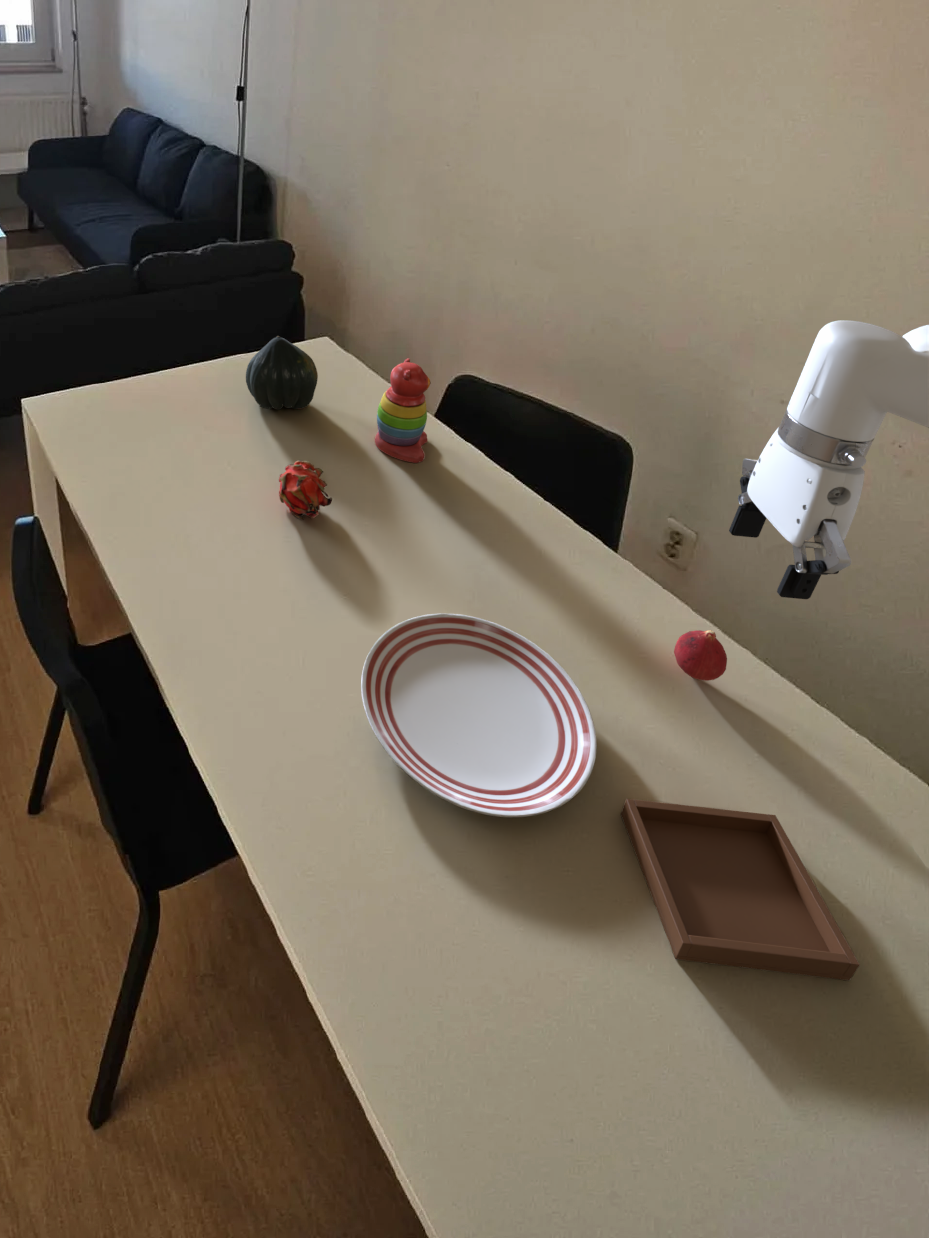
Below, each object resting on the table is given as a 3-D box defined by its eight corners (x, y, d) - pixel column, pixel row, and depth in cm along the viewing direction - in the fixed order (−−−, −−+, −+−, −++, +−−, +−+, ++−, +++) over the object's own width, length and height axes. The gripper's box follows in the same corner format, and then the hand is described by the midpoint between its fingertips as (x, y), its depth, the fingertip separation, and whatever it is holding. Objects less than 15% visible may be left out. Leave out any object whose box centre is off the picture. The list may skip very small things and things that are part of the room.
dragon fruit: (294, 489, 137) (312, 542, 127) (259, 472, 133) (275, 525, 123) (326, 459, 134) (347, 510, 124) (291, 440, 130) (310, 491, 120)
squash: (309, 408, 150) (318, 335, 154) (235, 399, 153) (247, 328, 157) (314, 421, 163) (323, 354, 167) (246, 413, 166) (256, 347, 170)
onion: (674, 688, 99) (692, 643, 96) (662, 653, 104) (678, 609, 101) (723, 699, 98) (743, 653, 94) (709, 663, 103) (727, 619, 100)
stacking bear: (423, 465, 143) (437, 382, 135) (369, 454, 145) (380, 372, 138) (427, 436, 152) (441, 357, 145) (377, 426, 155) (388, 348, 148)
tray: (767, 830, 82) (775, 814, 81) (849, 980, 70) (860, 964, 69) (620, 813, 83) (626, 798, 82) (675, 959, 71) (683, 943, 70)
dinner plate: (540, 890, 76) (547, 869, 75) (316, 723, 92) (318, 704, 91) (620, 711, 95) (626, 692, 94) (423, 599, 111) (426, 582, 110)
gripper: (923, 492, 71) (852, 627, 78) (808, 397, 87) (757, 517, 94) (841, 484, 71) (777, 620, 78) (741, 392, 87) (695, 511, 94)
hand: (766, 564), depth 86 cm, fingers open, 9 cm apart
